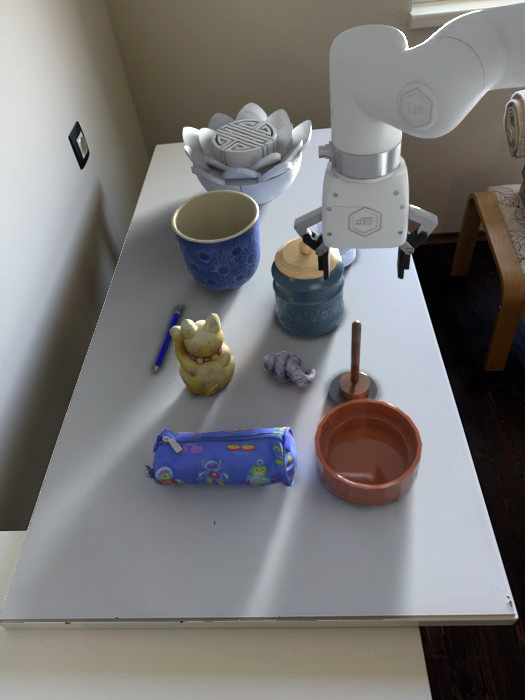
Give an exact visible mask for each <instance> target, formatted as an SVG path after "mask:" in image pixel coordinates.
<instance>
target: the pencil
mask: <svg viewBox="0 0 525 700" xmlns="http://www.w3.org/2000/svg"><path fill="white" fill-rule="evenodd" d="M182 309H183V308H182V306H181V305H178V306H177V307H176V309H175V311H174V313H173V317H172V319H171V322H170V325H169V327H168V330H167V332H166V334H165V337H164V340H163V343H162V345H161V348H160V351H159V353H158V355H157V358H156V360H155V364H154V372H157V371H158V370H160V368H161V366H162V362H163V360H164V357H165V355H166V351H167V349H168V347H169V345H170V344H169V343H170V341H171V339H172V336H171V334H170V332H169V330H170V329H171V328H172V327H173V326H177V323H178V320H179V317H180V315H181V312H182Z"/></svg>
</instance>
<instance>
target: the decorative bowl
mask: <svg viewBox="0 0 525 700" xmlns="http://www.w3.org/2000/svg"><path fill="white" fill-rule="evenodd" d="M311 138H312V120H311V119H306V120H305V121H302V122H301V123H299V124H298V125H297V126H295V127H294V125H293V123H292V122H291V121H290V117H289V115H288V113H287V111H286V110H285V109H284V108H280V109H277V110H275V111H273V112H272V113H271V114H270V115H267V112H265V110H264V109H263V108H262V107H260V106H259V105H258V104H256V103H254V102H248V103H247V104H245V105H244V106H243V107H242V108H241V109H240V110H239V111H238V113H237V114H236V117H235V119H234V118H232V117H231V116H229V115H227V114H225V113H223V112H216V113H214V114H213V115H212V116H211V118H210V120H209V122H208V126H207V127H202V128H200V129H197V128H194V127H191V126H184V127H183V129H182V140H183V144H184V147H183V148H184V152H185V154H186V156H187V157H188V159H189V160H190V162H191V163H192V166H190V169H191V174H193V175H196V178H197V180H198V181H199V183H200V185H201V186H202V188H204V190H205V191H206V192H210V191H217V190H229V191H236V192H240V193H243V194H245V195H247V196H249V197H251V198H252V199H253V200H254V201H255V202H256V204H257V205H262V204H267V203H269V202H272V201H274V200H275V199H277V198H279V197H280V196H282V195H283V194H285V192H286V191H287V190H288V189H289V188H290V187H291V185H292V184H293V182H294V181H295V179H296V177H297V175H298V174H299V170H300V168H301V162H302V153H303V152H304V151H305V150H306V149H307V148H308V146H309V144H310V141H311Z"/></svg>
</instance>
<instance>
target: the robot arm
mask: <svg viewBox="0 0 525 700" xmlns="http://www.w3.org/2000/svg"><path fill="white" fill-rule="evenodd" d="M406 38H407V37H406V36H405V34H404V33H403V32H402V31H400V30H399V29H398V28H396V27H394V26H390V25H387V24H386V25H385V24H377V23H376V24H363V25H358V26H357V25H356V26H354V27H351V28H348V29H345V30H344V31H342V32H340V33H339V34H338V35H337V36H336V37H335V38H334V39H333V41H332V43H331V45H330V48H329V54H328V55H329V56H328V57H329V58H328V61H329V62H328V65H329V66H328V67H329V69H328V70H329V101H330V104H329V105H330V106H329V108H330V135H331V136H330V137H331V138H330V139H331V140H328V143H325V145H323V144H322V145H318V159H325V160H328V162H327V164H326V168H325V171H324V176H323V181H322V182H323V183H322V192H321V193H322V195H321V206H319V207H318V208H315V209H313V210H311V211H309V212H307V213H304V214H302V215H300V216H299V217H297V218H295V219H294V222H293V229H294V230H295V232H296V233H297V235H298V236H299V238H300V237H301V238H302V239H303V243H305V244H306V245H307V246H309V247H310V248H311V249H313V250H314V251H315V254H316V255H317V256H318V270H319V271H323V275H324V280H328V279H329V273H330V251H329V249H330V248H334V249H356V250H359V249H360V250H364V249H365V250H366V249H367V250H369V249H370V250H371V249H372V250H373V249H392V248H397V259H396V267H397V268H396V269H397V270H396V271H397V279H399V280H404V278H405V271H407V270H408V271H409V270H410V268H411V267H410V266H411V257H412V256H411V255H413V254H414V253H415V250H416V249H417V248H418V247H420V246H421V245H422V244H424V243H425V242H426V241H427V240H428V238H429V236H430V235H431V234H432V233H433V231H434V230H435V229H436V228H437V226H438V224H439V221H438V216H437V215H436V214H435V213H432V212H430V211H427V210H425V209H422V208H420V207H418V206H415V205H413V204H410V201H409V200H410V183H409V173H408V167H407V164H406V161H405V159H404V158H403V156H402V155H401V153H402V141H403V137H402V136H403V133H405V134H408V135H410V136H413V137H416V138H421V139H436V138H440V137H443V136H446V135H447V134H449V133H451V132H452V131H453V130H454V129H455V128H457V127H458V126H459V125H460V124H461V122H462V121H464V119H465V118H466V117H467V116H468V114H469V113H471V111H472V110H473V109H474V108H475V106H476V105H477V104H478V103H479V101H480V100H482V99H483V97H484V96H485V95H486V94H487V93H488V91H495V90H502V89H514V88H525V1H524V2H517V3H513V4H507V5H500V6H494V7H489V8H483V9H479V10H473V11H470V12H467V13H464V14H462V15H459V16H457V17H455V18H453V19H452V20H450V21H448V22H447V23H445V24H444V25H443V26H442V27H440V28H439V29H438V30H437V31H436V32H434V33H433V34H432V35H431V36H430V37H428V39H426V40H425V41H424V42H422V43H420V44H417V45H416V46H414V47H411V48H409V45H408V40H407V39H406ZM321 221H322V232H321V233H320V234H319V235H317V234H316V233H315V232H316V231H313V230H312V229H311V228H310V227H313V226H315V225H318V223H319V222H321ZM409 221H412V222H414V223H417V224H419V225H420V226H418V227H417V228H416V229H415V230H413V231H411V232H410V231H409V230H408V229H409Z"/></svg>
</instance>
